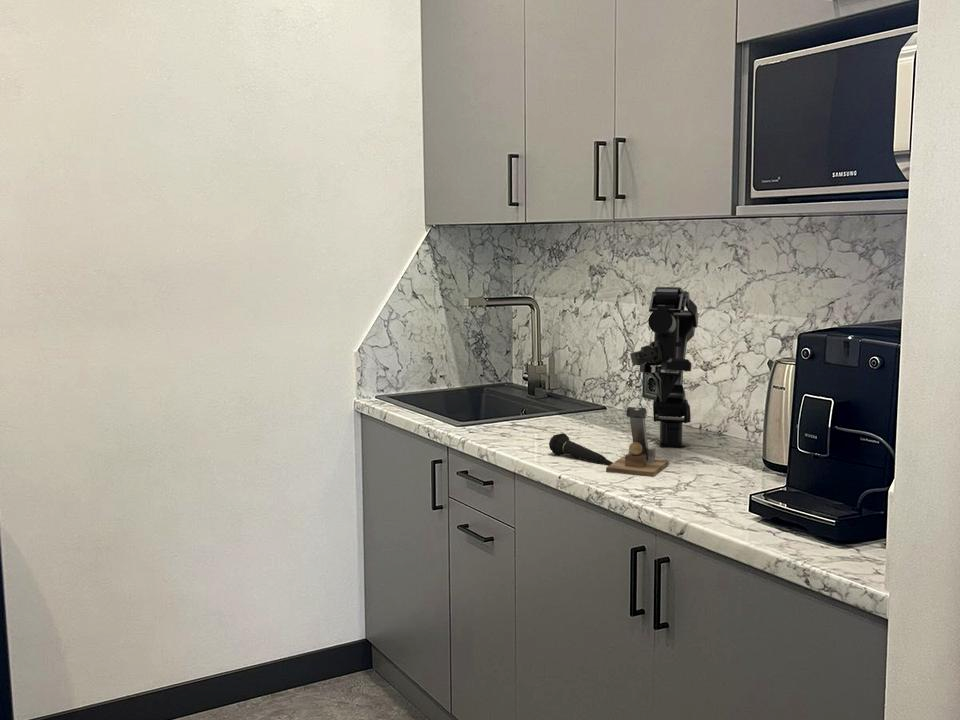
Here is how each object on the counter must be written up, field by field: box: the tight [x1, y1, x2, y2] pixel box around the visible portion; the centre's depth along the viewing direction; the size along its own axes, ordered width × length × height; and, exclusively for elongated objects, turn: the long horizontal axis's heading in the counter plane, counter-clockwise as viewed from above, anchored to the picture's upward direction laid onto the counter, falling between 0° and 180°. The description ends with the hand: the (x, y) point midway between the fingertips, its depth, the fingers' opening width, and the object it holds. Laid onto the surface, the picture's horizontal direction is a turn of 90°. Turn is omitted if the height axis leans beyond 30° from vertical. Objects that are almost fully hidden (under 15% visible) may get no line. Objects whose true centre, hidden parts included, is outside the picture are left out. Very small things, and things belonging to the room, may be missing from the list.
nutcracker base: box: [605, 441, 670, 478], centre depth 224 cm, size 13×11×6 cm
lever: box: [626, 406, 650, 460], centre depth 224 cm, size 2×4×14 cm, turn 64°
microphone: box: [548, 432, 614, 466], centre depth 234 cm, size 6×6×20 cm
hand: (662, 401), depth 236 cm, fingers closed
